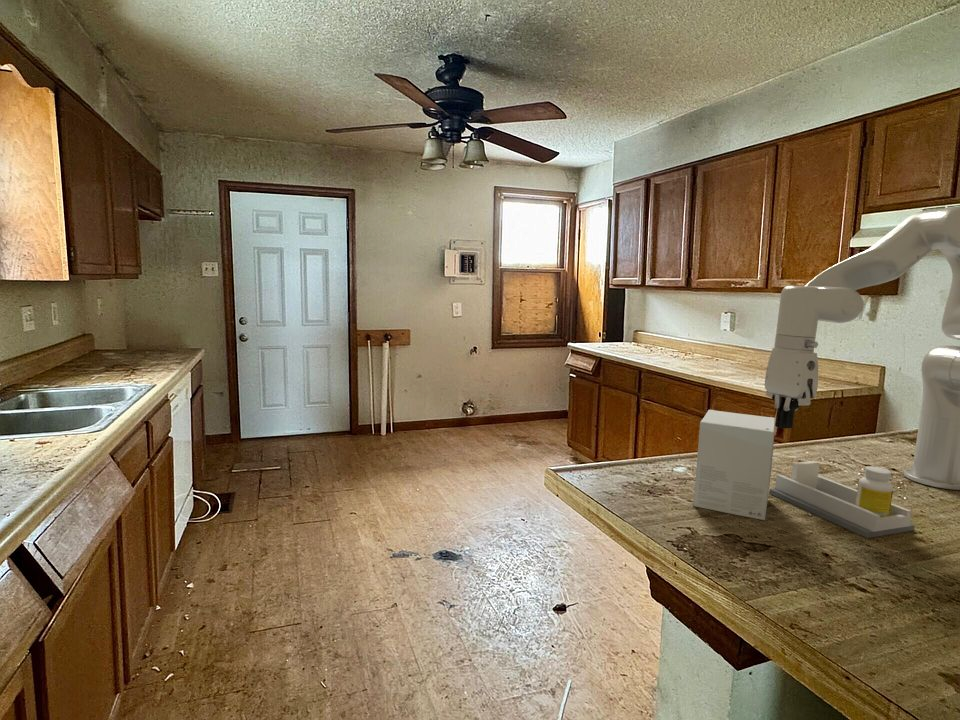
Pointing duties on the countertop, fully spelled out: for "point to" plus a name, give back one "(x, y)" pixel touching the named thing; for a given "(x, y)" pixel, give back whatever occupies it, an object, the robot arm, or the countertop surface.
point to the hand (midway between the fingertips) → (783, 427)
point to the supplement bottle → (875, 491)
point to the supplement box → (734, 463)
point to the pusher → (806, 473)
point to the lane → (841, 507)
